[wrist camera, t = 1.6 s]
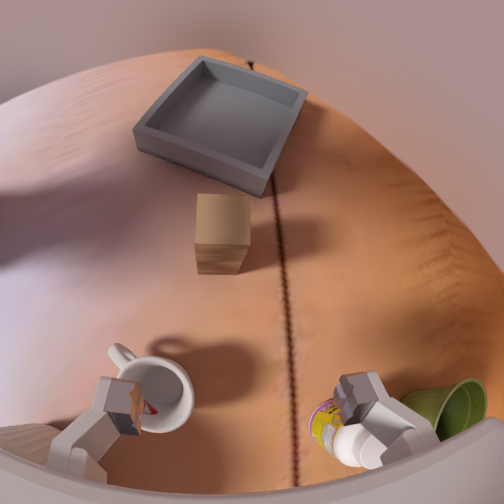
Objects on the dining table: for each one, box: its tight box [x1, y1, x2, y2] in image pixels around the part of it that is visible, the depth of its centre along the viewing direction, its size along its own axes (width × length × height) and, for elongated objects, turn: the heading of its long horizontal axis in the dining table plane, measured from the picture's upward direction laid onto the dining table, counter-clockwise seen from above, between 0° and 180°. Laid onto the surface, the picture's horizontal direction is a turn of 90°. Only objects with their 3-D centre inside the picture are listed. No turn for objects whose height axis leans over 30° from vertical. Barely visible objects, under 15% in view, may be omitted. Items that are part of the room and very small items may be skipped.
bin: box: [132, 55, 308, 198], centre depth 41 cm, size 20×20×5 cm
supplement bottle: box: [309, 400, 387, 469], centre depth 27 cm, size 7×7×13 cm
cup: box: [108, 343, 195, 433], centre depth 28 cm, size 11×8×8 cm
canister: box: [0, 423, 62, 467], centre depth 15 cm, size 18×18×21 cm
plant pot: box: [401, 378, 487, 442], centre depth 29 cm, size 12×12×11 cm
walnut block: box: [195, 193, 251, 275], centre depth 31 cm, size 5×5×12 cm
